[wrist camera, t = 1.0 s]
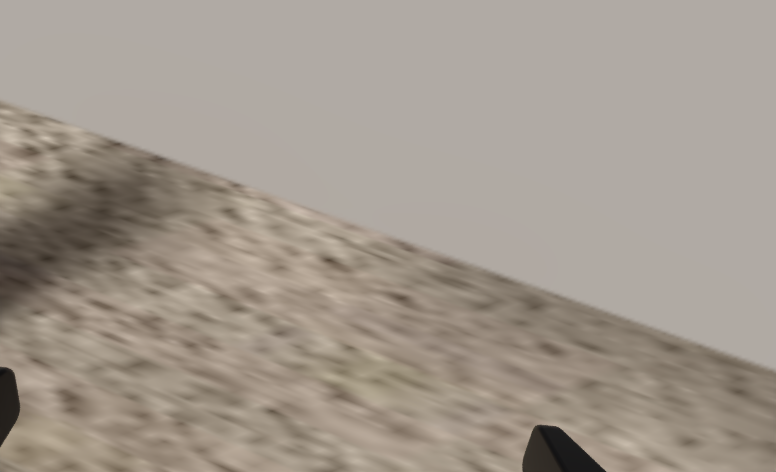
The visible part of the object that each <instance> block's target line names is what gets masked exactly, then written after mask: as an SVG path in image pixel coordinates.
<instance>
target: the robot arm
mask: <svg viewBox="0 0 776 472" xmlns="http://www.w3.org/2000/svg"><path fill="white" fill-rule="evenodd" d="M19 412H20V402H19V396H18V390H17V384H16V379H15V374H14V372H13V371H12V370H11V369H9V368H6V367H0V447H1V445H2V444H3V442H4V440H5V439H6V437H7V436H8V434H9V432H10V431H11V429H12V427H13V426H14V424H15V422H16V420H17V418H18V416H19ZM522 470H523V472H606V471H605V470H604V469H603V468H602V467H601V466H600V465H599V464H598V463H597V462H596V461H595V460H593V459H592V458H591V457H590V456H589V455H588V454H587V453H586V452H585V451H584V450H583V449H582V448H581V447H580V446H579V445H578V444H577V443H575V442H574V441H573V440H572V439H571V438H570V437H569V436H568V435H567V434H566V433H565V432H564V431H563V430H562V429H560V428H559V427H556V426H548V425H537V426H535V427H534V429H533V431H532V434H531V437H530V439H529V442H528V445H527V448H526V451H525V454H524V457H523V464H522Z"/></svg>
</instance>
